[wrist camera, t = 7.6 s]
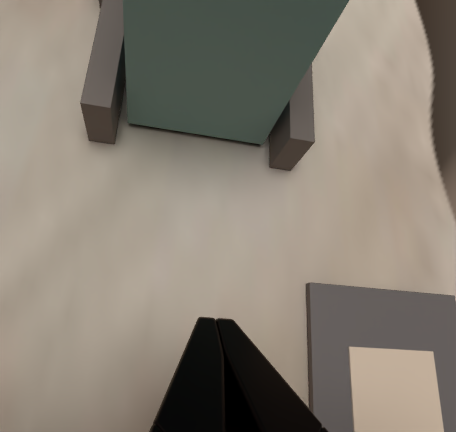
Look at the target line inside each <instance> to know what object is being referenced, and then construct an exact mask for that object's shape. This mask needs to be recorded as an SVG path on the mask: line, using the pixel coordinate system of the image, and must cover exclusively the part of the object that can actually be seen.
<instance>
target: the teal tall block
mask: <svg viewBox="0 0 456 432" xmlns="http://www.w3.org/2000/svg"><path fill="white" fill-rule="evenodd" d="M348 2H349V0H123V22H124V46H125V69H126V93H127V117H128V123H131V124H137V125H144V126H150V127H156V128H162V129H168V130H175V131H181V132H187V133H193V134H200V135H206V136H212V137H218V138H224V139H231V140H237V141H243V142H249V143H255V144H262V145H263V143H264V141H265V140H266V138H267V136H268V135H269V133H270V131H271V130H272V128H273V126H274V125H275V123H276V121H277V120H278V118H279V116H280V115H281V113H282V111H283V110H284V108H285V106H286V105H287V103H288V101H289V100H290V98H291V96H292V95H293V93H294V91H295V90H296V88H297V86H298V85H299V83H300V81H301V80H302V78H303V76H304V75H305V73H306V71H307V70H308V68H309V66H310V65H311V63H312V61H313V60H314V58H315V56H316V55H317V53H318V51H319V50H320V48H321V47H322V45H323V43H324V42H325V40H326V38H327V37H328V35H329V33H330V32H331V30H332V28H333V27H334V25H335V23H336V22H337V20H338V18H339V17H340V15H341V13H342V12H343V10H344V8H345V7H346V5H347V3H348Z"/></svg>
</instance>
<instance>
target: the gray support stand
mask: <svg viewBox="0 0 456 432" xmlns="http://www.w3.org/2000/svg"><path fill="white" fill-rule="evenodd" d="M99 3H100V8H101V10H100V15H99V19H98V24H97V29H96V33H95V38H94V42H93V47H92V51H91V56H90V61H89V65H88V70H87V74H86V79H85V84H84V88H83V93H82V97H81V102H80V104H81V108H82V113H83V117H84V121H85V126H86V130H87V134H88V139H89V140H90V141H97V142H104V143H111V144H114V143H115V137H116V131H117V126H118V120H119V114H120V108H121V102H122V97H123V91H124V85H125V79H126V69H125V46H124V22H123V0H99ZM314 142H315V135H314V110H313V84H312V63H311V65H310V66H309V68H308V70H307V71H306V73H305V75H304V76H303V78H302V80H301V81H300V83H299V85H298V86H297V88H296V90H295V91H294V93H293V95H292V96H291V98H290V100H289V101H288V103H287V105H286V106H285V108H284V110H283V111H282V113H281V115H280V116H279V118H278V120H277V121H276V123H275V125H274V126H273V128H272V130H271V131H270V167H271V168H278V169H284V170H292V169H293V167H294V166H295V165H296V164H297V163H298V161H299V160H300V159H301V158H302V157H303V155H304V154H305V153H306V152H307V151H308V149H309V148H310V147H311V146H312V145H313V144H314Z"/></svg>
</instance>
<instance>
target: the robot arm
mask: <svg viewBox="0 0 456 432" xmlns="http://www.w3.org/2000/svg"><path fill="white" fill-rule="evenodd" d="M149 432H329V431H328V430H327V429H326V428H325V427H322V423H321V422H320V421H319V420H318V419H317V418H316V416H315V415H314V414H313V413H312V412H311V410H310V409H309V408H308V407H307V406H306V405H305V403H304V402H303V401H302V400H301V399H300V398H299V396H298V395H297V394H296V393H295V392H294V391H293V389H292V388H291V387H290V386H289V385H288V383H287V382H286V381H285V380H284V379H283V378H282V376H281V375H280V374H279V373H278V372H277V371H276V369H275V368H274V367H273V366H272V365H271V364H270V362H269V361H268V360H267V359H266V358H265V356H264V355H263V354H262V353H261V352H260V351H259V349H258V348H257V347H256V346H255V345H254V344H253V342H252V341H251V340H250V339H249V338H248V337H247V335H246V334H245V333H244V332H243V331H242V329H241V328H240V327H239V326H238V325H237V324H236V322H235V321H234V320H232V319H223V318H218V319H216V320H215V319H214V318H209V317H199V318H198V319H197V322H196V324H195V326H194V329H193V331H192V333H191V336H190V338H189V340H188V343H187V345H186V348H185V350H184V352H183V355H182V357H181V359H180V362H179V364H178V366H177V369H176V371H175V373H174V376H173V378H172V380H171V383H170V385H169V387H168V390H167V392H166V394H165V397H164V399H163V401H162V404H161V406H160V408H159V411H158V413H157V415H156V418H155V420H154V422H153V425H152V427H151V429H150V431H149Z"/></svg>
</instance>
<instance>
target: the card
mask: <svg viewBox="0 0 456 432" xmlns="http://www.w3.org/2000/svg"><path fill="white" fill-rule="evenodd" d="M306 291H307V329H308V367H309V405H310V410H311V412H312V413H313V414H314V415H315V416H316V418H317V419H318V420H319V421H320V422H321V423H322V427H325V428H326V429H327V430H328V431H329V432H456V302H455V296H452V295H441V294H430V293H419V292H408V291H397V290H386V289H375V288H365V287H354V286H343V285H332V284H321V283H307V284H306Z"/></svg>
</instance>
